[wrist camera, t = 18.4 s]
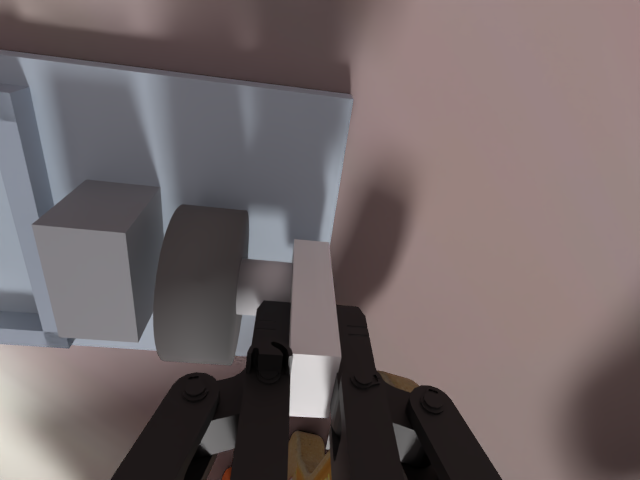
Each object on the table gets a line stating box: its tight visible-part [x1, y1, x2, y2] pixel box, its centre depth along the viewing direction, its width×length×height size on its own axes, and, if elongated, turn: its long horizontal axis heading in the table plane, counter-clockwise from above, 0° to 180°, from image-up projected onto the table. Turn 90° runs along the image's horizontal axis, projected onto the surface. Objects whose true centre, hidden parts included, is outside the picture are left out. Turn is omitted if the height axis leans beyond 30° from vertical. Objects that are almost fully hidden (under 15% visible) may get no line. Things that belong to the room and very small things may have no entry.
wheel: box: [153, 204, 293, 365], centre depth 16 cm, size 4×6×6 cm
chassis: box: [0, 50, 353, 356], centre depth 17 cm, size 24×14×5 cm, turn 83°
